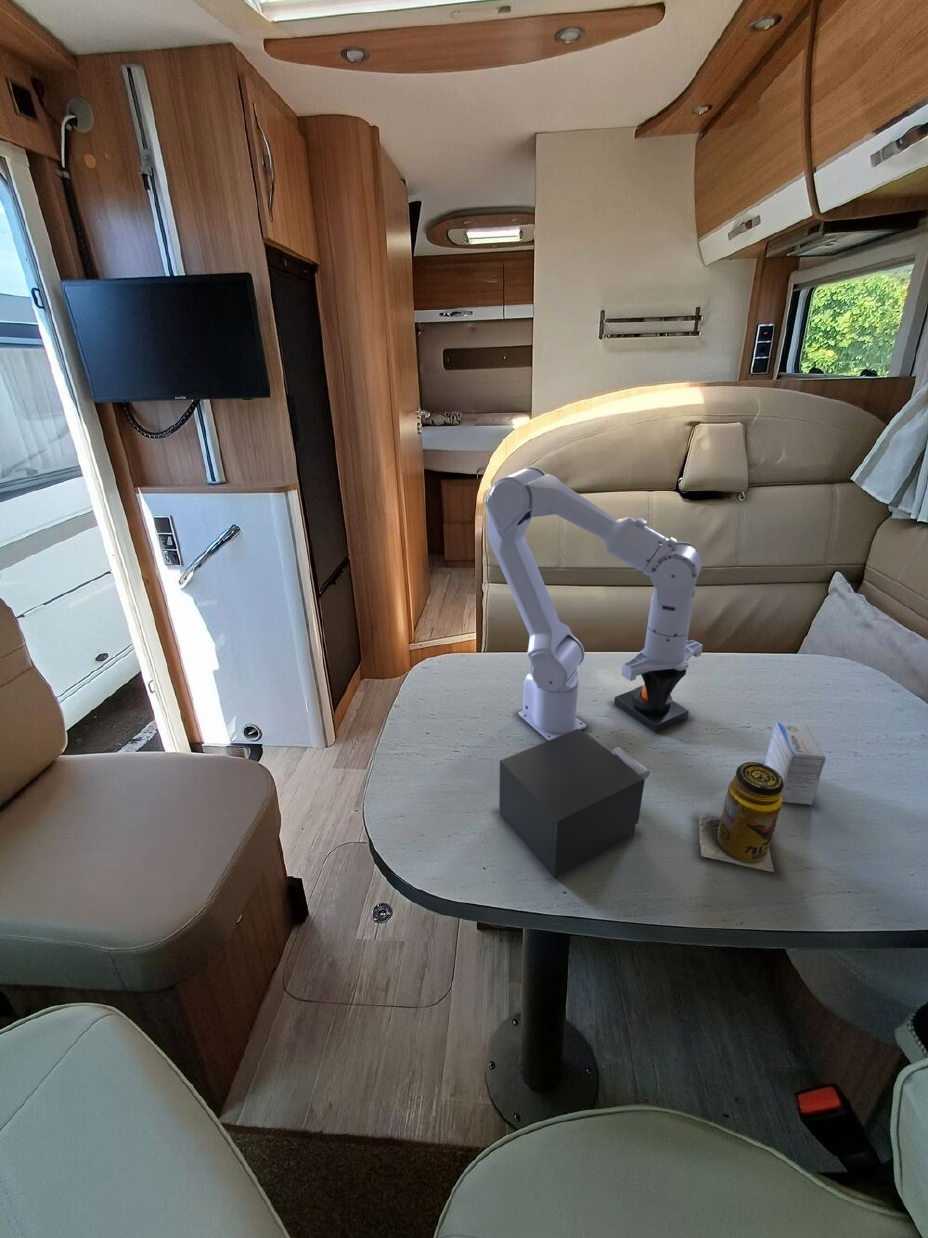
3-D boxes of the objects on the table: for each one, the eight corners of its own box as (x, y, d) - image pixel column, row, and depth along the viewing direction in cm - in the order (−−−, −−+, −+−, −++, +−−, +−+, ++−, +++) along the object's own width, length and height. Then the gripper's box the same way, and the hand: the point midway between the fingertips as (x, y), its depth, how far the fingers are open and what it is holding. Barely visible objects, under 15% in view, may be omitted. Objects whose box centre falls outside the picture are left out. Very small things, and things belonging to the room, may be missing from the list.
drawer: (603, 764, 87) (608, 723, 83) (660, 811, 78) (667, 767, 74) (515, 805, 79) (516, 762, 76) (566, 862, 70) (569, 816, 67)
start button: (637, 695, 100) (638, 686, 99) (651, 689, 101) (652, 681, 101) (652, 705, 97) (653, 696, 96) (667, 699, 99) (668, 690, 98)
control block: (613, 704, 103) (615, 688, 101) (645, 691, 106) (647, 676, 105) (655, 733, 95) (657, 716, 93) (687, 718, 98) (690, 702, 97)
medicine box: (811, 806, 79) (828, 758, 75) (777, 802, 80) (792, 754, 76) (794, 769, 86) (808, 723, 82) (762, 766, 87) (775, 720, 83)
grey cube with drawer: (573, 779, 85) (578, 728, 81) (634, 834, 75) (642, 779, 71) (499, 813, 79) (499, 760, 75) (554, 878, 69) (558, 821, 65)
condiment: (773, 873, 69) (797, 800, 64) (701, 857, 72) (717, 785, 66) (764, 829, 75) (784, 759, 70) (697, 816, 78) (712, 747, 73)
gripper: (652, 651, 75) (640, 733, 80) (725, 626, 81) (709, 704, 87) (615, 631, 80) (606, 709, 86) (686, 609, 86) (673, 683, 92)
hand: (655, 705), depth 87 cm, fingers closed
